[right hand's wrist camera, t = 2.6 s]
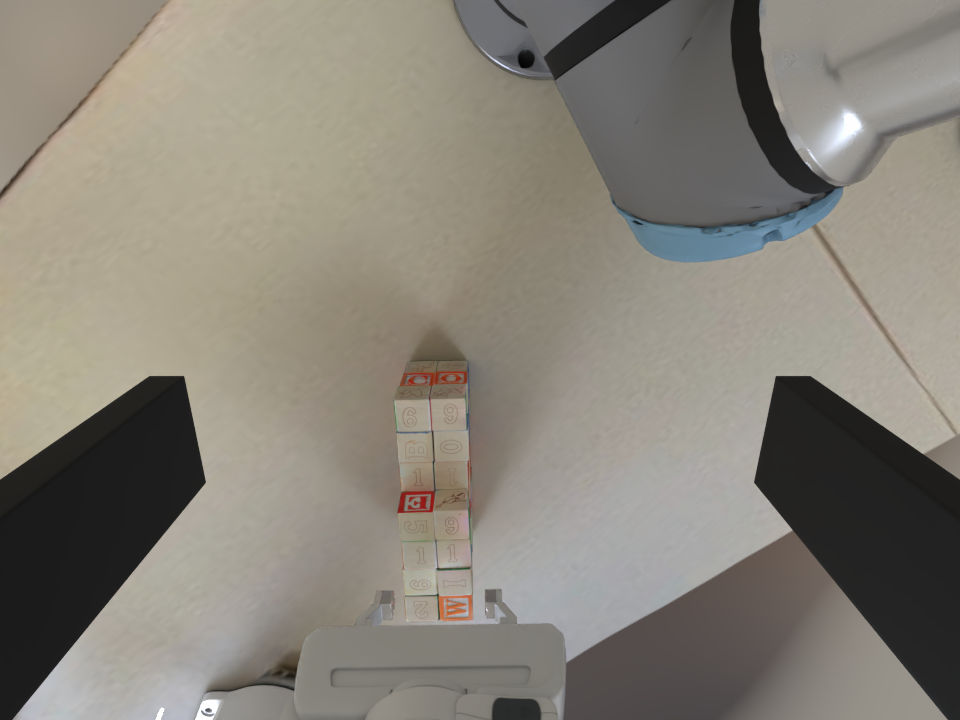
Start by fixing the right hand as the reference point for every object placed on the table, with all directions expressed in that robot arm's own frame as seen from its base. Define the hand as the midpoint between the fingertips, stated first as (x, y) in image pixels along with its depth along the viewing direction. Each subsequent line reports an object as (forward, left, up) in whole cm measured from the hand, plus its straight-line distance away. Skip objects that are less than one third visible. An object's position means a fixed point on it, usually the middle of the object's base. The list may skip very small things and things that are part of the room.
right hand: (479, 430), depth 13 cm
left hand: (+19, +25, -28) cm, 41 cm away
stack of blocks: (+15, +19, -41) cm, 47 cm away
